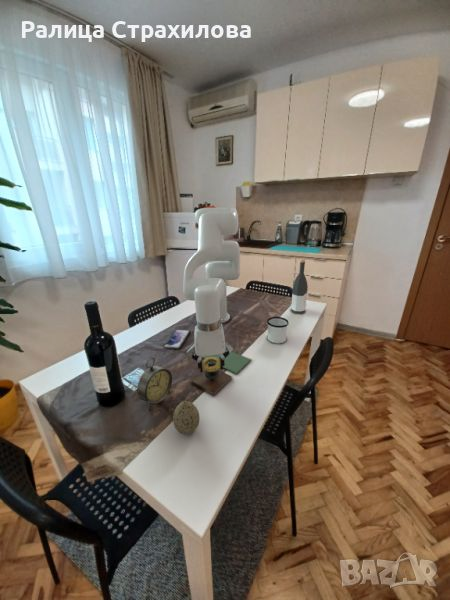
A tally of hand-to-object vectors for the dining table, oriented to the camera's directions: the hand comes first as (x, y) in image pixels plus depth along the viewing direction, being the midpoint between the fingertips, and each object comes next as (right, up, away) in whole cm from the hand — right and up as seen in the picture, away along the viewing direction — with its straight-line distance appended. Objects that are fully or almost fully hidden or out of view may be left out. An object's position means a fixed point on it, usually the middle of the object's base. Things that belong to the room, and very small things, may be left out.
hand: (211, 368), depth 83 cm
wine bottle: (+47, +17, +53) cm, 73 cm away
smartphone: (-17, +5, +28) cm, 33 cm away
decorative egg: (-6, -13, -16) cm, 21 cm away
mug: (+29, +6, +28) cm, 40 cm away
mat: (+4, 0, +14) cm, 15 cm away
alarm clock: (-17, -9, -6) cm, 20 cm away
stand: (0, -5, +2) cm, 5 cm away
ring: (0, +1, 0) cm, 1 cm away
